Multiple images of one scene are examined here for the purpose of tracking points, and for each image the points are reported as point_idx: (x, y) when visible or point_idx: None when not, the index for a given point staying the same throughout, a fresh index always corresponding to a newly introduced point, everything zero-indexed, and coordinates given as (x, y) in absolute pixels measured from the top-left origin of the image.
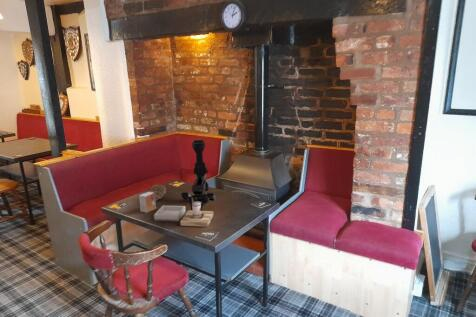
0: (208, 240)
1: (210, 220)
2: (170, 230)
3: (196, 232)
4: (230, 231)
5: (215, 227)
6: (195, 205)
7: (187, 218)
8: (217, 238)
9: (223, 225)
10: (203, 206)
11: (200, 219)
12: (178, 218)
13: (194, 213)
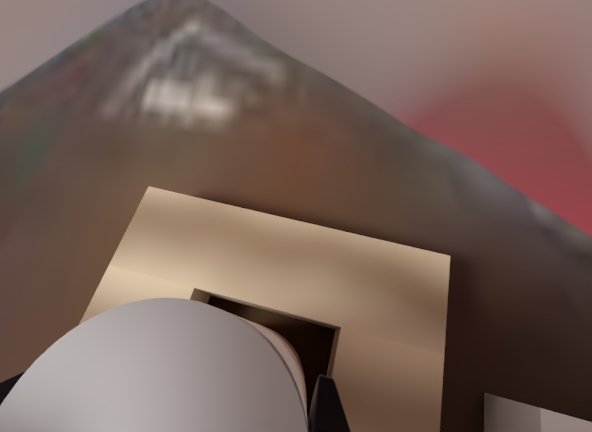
0: (201, 26)
1: None
2: (500, 183)
3: (272, 124)
4: (20, 108)
5: (105, 184)
6: (208, 307)
7: (375, 331)
8: (141, 39)
9: (24, 211)
10: None
11: (210, 271)
12: (506, 407)
13: (273, 333)
